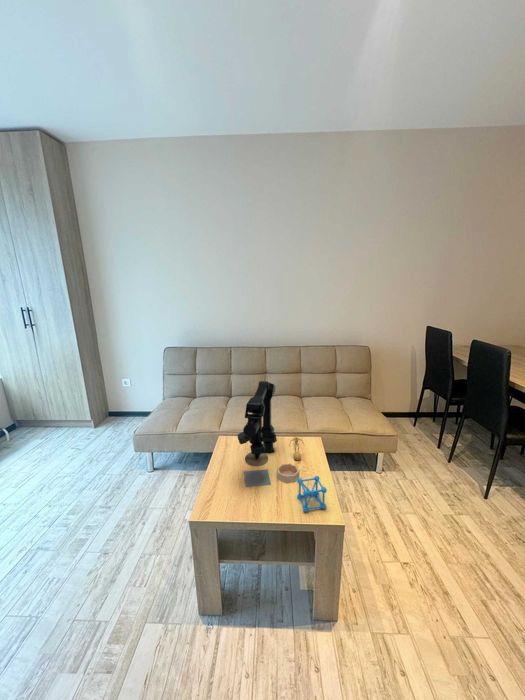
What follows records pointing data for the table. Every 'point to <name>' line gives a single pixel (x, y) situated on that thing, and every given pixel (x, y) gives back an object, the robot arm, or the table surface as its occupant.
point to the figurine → (296, 454)
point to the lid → (255, 462)
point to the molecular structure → (311, 493)
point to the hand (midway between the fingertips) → (256, 457)
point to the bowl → (288, 473)
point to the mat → (257, 478)
